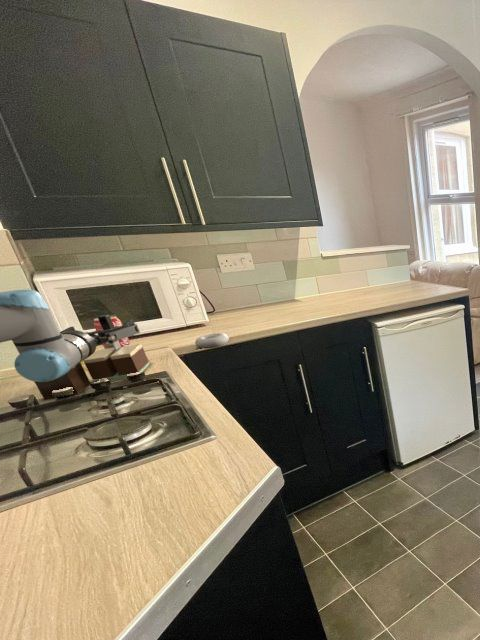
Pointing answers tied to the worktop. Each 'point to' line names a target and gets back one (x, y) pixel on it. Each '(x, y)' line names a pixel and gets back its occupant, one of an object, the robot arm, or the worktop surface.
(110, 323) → the knife
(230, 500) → the worktop surface
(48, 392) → the knife block
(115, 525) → the worktop surface
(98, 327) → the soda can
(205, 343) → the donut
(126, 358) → the cake
